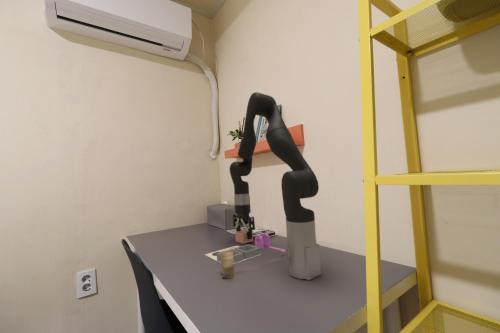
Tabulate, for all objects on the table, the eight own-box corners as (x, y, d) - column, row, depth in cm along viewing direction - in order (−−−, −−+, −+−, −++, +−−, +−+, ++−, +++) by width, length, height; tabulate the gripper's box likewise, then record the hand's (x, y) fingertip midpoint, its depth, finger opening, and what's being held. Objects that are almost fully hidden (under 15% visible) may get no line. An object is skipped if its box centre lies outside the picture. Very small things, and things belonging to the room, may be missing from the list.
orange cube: (253, 244, 110) (252, 231, 110) (243, 247, 106) (242, 233, 106) (245, 241, 115) (245, 229, 115) (235, 244, 111) (235, 231, 111)
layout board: (261, 258, 91) (261, 247, 91) (227, 270, 81) (226, 258, 81) (236, 248, 104) (236, 239, 104) (204, 258, 94) (204, 248, 94)
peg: (236, 276, 75) (235, 251, 76) (226, 280, 73) (224, 255, 73) (229, 273, 79) (228, 249, 79) (219, 276, 76) (218, 252, 76)
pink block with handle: (255, 251, 100) (254, 235, 100) (263, 248, 104) (262, 232, 104) (280, 257, 91) (279, 239, 91) (288, 253, 95) (287, 236, 95)
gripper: (257, 203, 108) (259, 238, 107) (240, 201, 119) (241, 233, 118) (244, 205, 103) (247, 242, 103) (227, 203, 114) (229, 236, 114)
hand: (244, 237), depth 110 cm, fingers open, 8 cm apart
